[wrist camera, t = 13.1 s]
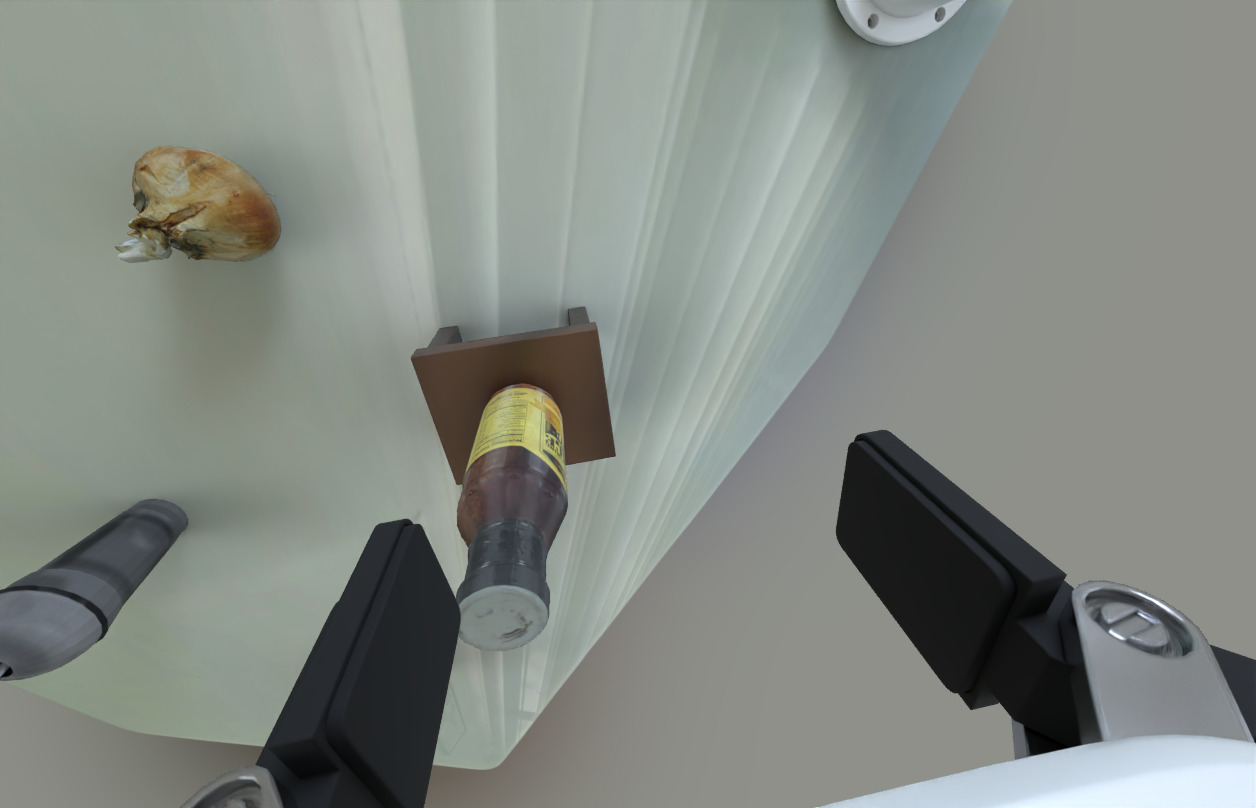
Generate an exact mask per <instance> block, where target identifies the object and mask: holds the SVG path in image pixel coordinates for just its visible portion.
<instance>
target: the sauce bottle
mask: <svg viewBox="0 0 1256 808" xmlns="http://www.w3.org/2000/svg"><path fill="white" fill-rule="evenodd" d="M567 508H568V496H567V482H566V465H565V452H564V437H563V422H562V416H561V413H560V410H559V408H558V406H557V404H556V402H555V401H554V399H553V397H552V396H551V395H550V394H549V393H547V392H546V391H544V390H543V389H540V388H538V387H535V386H532V385H530V384H524V383H522V384H516V385H511V386H508V387H506V388H503V389H502V390H500V391H497V392H496V393H495V394H494V395H493V396H492V397H491V400H490V401H489V403H488V404H487V406H486V407H485V409H484V411H483V414H482V418H481V421H480V425H479V428H478V431H477V435H476V438H475V441H474V445H473V448H472V451H471V455H470V458H469V462H468V465H467V469H466V472H465V476H464V479H463V490H462V493H461V497H460V500H459V502H458V508H457V527H458V529H459V532H460V534H461V537H462V538H463V540H464V541H465V542H466V545H467V547H468V548H469V550H468V566H467V570H466V575H465V580H464V581H463V582H462V584H461V585H460V586H459V588H458V591H457V595H456V601H457V603H458V605H459V608H460V612H461V623H460V629H459V634H458V636H459V637H460V638H461V639H462V640H463V641H464V642H466V643H468V644H470V645H473V646H474V647H476V648H479V649H482V650H488V651H506V650H510V649H515V648H518V647H521V646H523V645H525V644H527V643H528V642H530V641H531V640H533V639H534V638H535V637H536V636H537V635H539V634H540V632H541V631H542V630H543V629H544V627H545V626H546V623H547V621H548V618H549V604H550V590H549V587H548V585H547V582H546V558H547V554H548V552H549V550H550V547H551V545H552V543H553V541H554V539H555V537H556V534H557V532H558V530H559V528H560V526H561V523H562V521H563V519H564V517H565V515H566V512H567Z"/></svg>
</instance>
